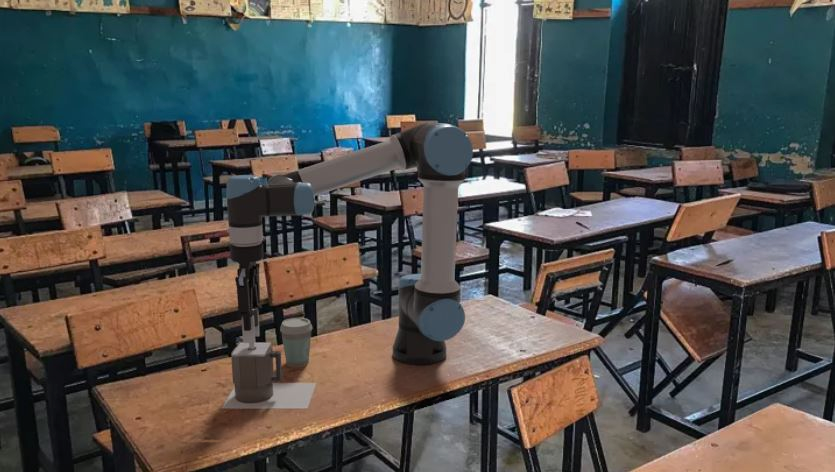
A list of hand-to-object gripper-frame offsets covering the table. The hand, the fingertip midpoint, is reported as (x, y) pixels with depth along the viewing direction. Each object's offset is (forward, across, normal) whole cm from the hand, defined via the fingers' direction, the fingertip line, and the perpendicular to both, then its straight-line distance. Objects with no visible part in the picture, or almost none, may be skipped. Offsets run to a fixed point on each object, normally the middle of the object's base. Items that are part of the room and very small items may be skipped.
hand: (251, 338), depth 162 cm
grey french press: (+14, 0, +1) cm, 14 cm away
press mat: (+15, 0, +4) cm, 15 cm away
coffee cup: (+15, -20, +7) cm, 26 cm away
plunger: (+9, 0, 0) cm, 9 cm away
